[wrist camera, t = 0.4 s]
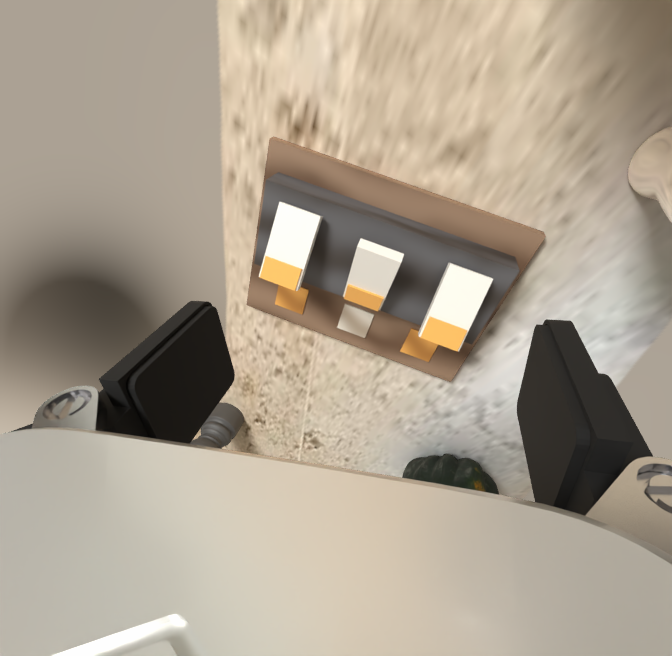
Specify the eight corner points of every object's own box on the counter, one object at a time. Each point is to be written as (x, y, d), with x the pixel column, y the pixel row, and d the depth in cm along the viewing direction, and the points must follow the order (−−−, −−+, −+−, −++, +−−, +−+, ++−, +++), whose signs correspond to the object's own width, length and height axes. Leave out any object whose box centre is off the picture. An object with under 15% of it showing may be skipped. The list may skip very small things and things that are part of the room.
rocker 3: (448, 262, 38) (450, 263, 37) (490, 277, 38) (494, 279, 37) (418, 333, 41) (418, 337, 39) (457, 347, 40) (459, 352, 39)
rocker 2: (360, 238, 36) (356, 248, 35) (404, 253, 36) (400, 264, 35) (346, 288, 43) (342, 298, 42) (382, 302, 43) (379, 312, 42)
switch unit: (274, 136, 41) (250, 146, 36) (543, 232, 39) (555, 255, 34) (250, 300, 54) (230, 323, 49) (450, 376, 53) (450, 406, 48)
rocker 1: (282, 202, 39) (278, 201, 38) (322, 216, 39) (320, 216, 38) (262, 275, 42) (257, 276, 40) (299, 289, 41) (296, 291, 40)
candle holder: (224, 427, 73) (138, 563, 53) (207, 404, 70) (109, 538, 51) (249, 424, 71) (169, 566, 51) (233, 400, 68) (141, 540, 48)
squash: (525, 525, 58) (492, 570, 47) (442, 537, 67) (397, 577, 55) (485, 434, 62) (446, 454, 51) (412, 456, 71) (364, 477, 60)
